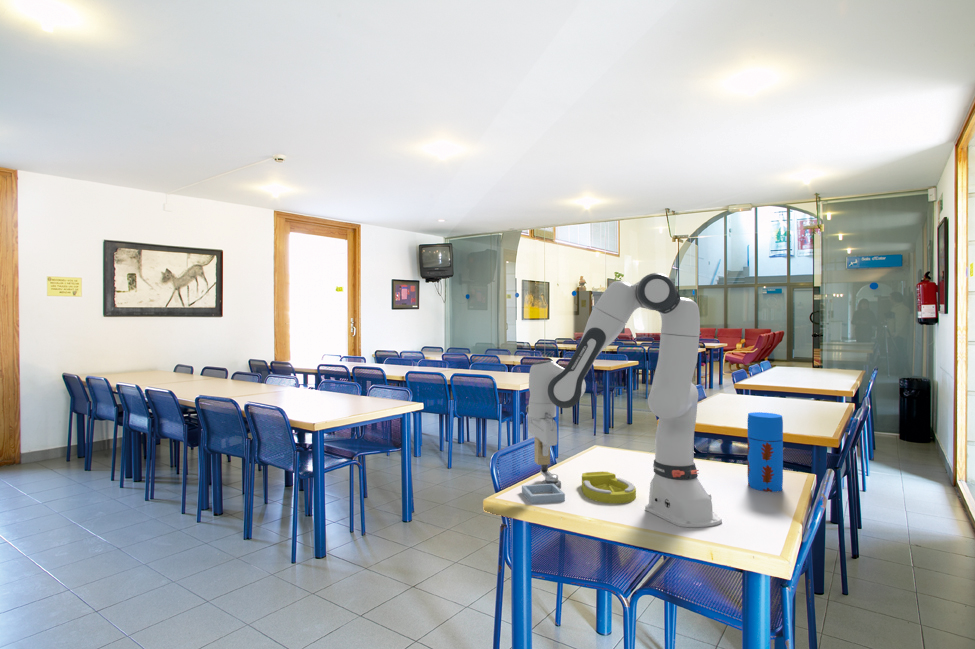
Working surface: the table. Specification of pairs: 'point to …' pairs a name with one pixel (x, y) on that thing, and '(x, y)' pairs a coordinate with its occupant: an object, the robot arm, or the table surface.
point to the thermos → (765, 451)
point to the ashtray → (607, 488)
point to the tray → (543, 498)
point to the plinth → (554, 483)
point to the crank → (548, 475)
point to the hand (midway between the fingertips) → (542, 453)
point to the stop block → (540, 453)
